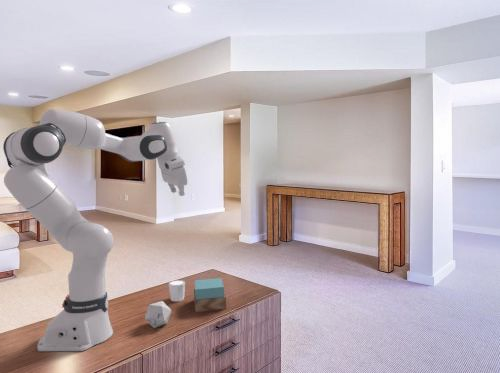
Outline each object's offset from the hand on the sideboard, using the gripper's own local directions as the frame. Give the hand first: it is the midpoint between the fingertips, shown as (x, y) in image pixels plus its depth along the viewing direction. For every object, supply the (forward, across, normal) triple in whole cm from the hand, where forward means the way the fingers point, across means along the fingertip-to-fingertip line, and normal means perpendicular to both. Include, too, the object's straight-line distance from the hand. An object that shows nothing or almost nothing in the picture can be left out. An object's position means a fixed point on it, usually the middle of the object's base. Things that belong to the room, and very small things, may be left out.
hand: (178, 193), depth 149 cm
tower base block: (+44, +16, -4) cm, 47 cm away
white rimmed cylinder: (+43, +2, -13) cm, 45 cm away
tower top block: (+39, +15, -3) cm, 42 cm away
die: (+38, +22, -26) cm, 51 cm away
